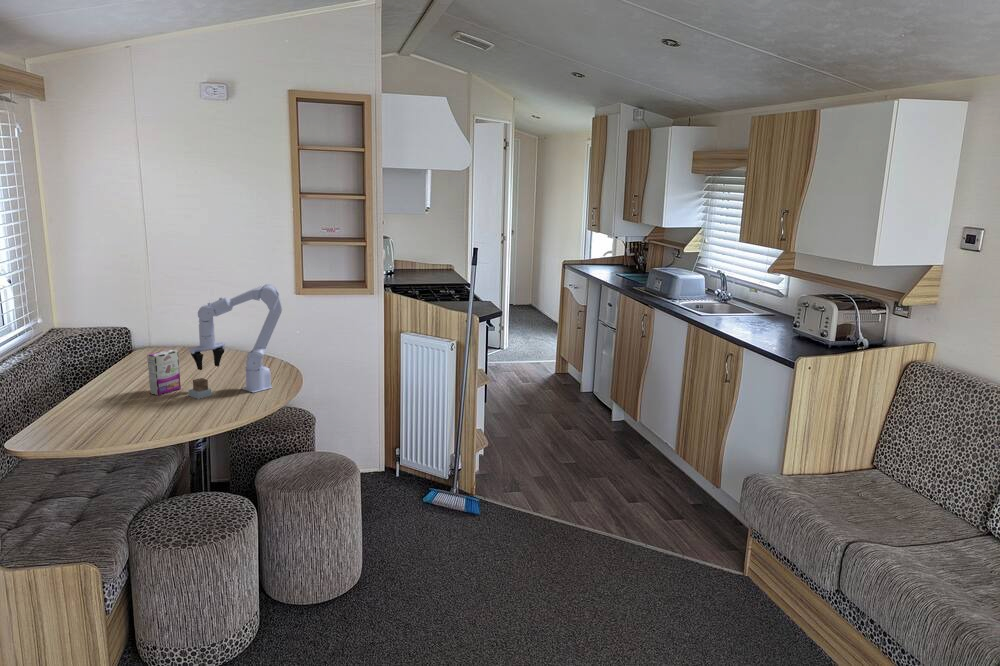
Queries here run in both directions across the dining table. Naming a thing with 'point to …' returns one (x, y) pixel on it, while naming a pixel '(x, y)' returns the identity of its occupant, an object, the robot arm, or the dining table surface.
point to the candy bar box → (164, 372)
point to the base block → (199, 393)
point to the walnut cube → (200, 384)
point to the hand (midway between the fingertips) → (208, 367)
